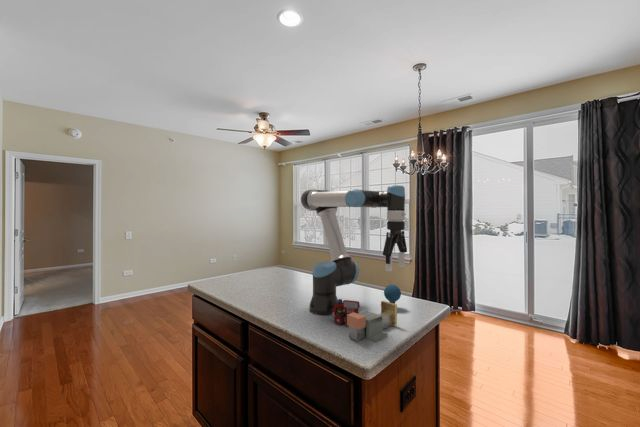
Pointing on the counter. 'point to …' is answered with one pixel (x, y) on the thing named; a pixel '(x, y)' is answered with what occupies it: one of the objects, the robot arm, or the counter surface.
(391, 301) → the teal egg
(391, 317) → the shaft
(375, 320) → the housing
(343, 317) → the toy fire truck
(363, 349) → the counter surface
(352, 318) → the block
